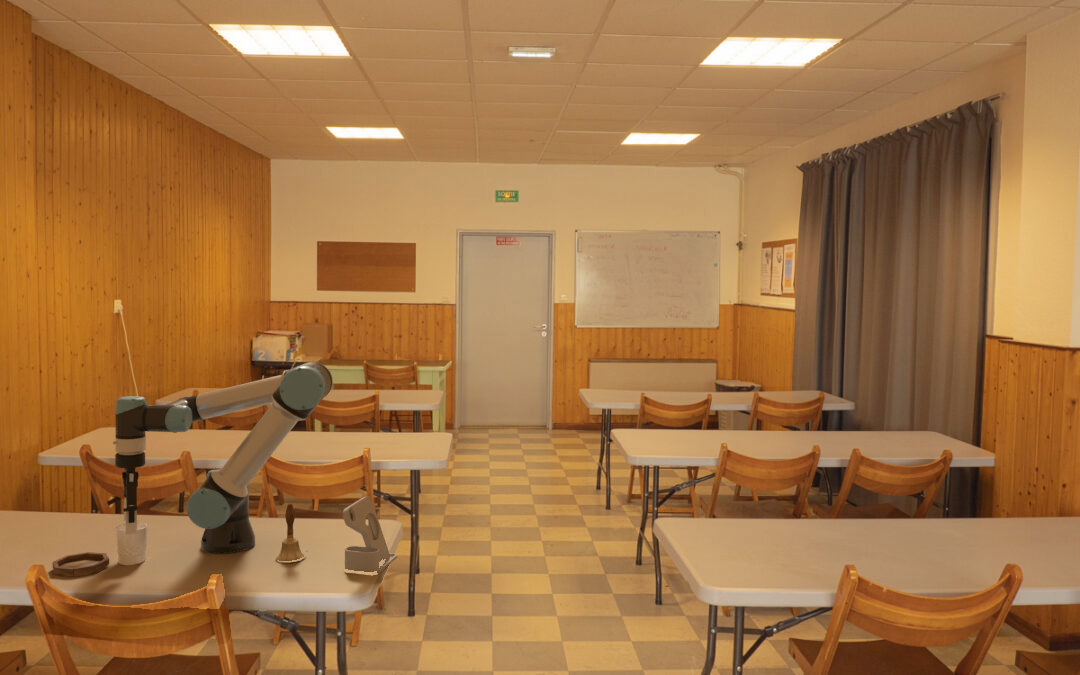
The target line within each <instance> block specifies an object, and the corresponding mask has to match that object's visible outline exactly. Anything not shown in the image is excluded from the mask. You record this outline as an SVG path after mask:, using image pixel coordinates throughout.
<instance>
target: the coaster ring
mask: <svg viewBox="0 0 1080 675" xmlns="http://www.w3.org/2000/svg"><path fill="white" fill-rule="evenodd" d="M109 565H110V557H109V556H108V554H107V553H103V552H94V551H93V552H91V551H87V552H81V553H75V554H68V555H67V554H66V555H65V556H62V557H61V558H58V559H56V560H54V561H52V570H53V574H54V575H56V576H59V577H81V576H87V575H92V574H95V573H98V572H101V571H103V570H105V569H106V568H107V567H108V566H109Z"/></svg>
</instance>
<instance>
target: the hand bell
mask: <svg viewBox="0 0 1080 675" xmlns="http://www.w3.org/2000/svg"><path fill="white" fill-rule="evenodd" d="M284 515H285V522H286V526H287V528H286V529H287V531H286V538H284V539H283V540H282V542H281V549H280V552H279V553H278V555H277V556H276V557H275V559H276V560H279V561H292V560H297V559H300V558H302V557H304V555H305V554H304V553H303V551H302V549H301V547H300V544H299V540H298V539H297V538H295V537H294V523H295V517H296V513H295V509H294V505H293V504H292V503H287V507H286V510H285V514H284ZM276 560H275V561H276Z"/></svg>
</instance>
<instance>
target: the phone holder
mask: <svg viewBox="0 0 1080 675" xmlns="http://www.w3.org/2000/svg"><path fill="white" fill-rule="evenodd" d="M342 510H343V511H342V518H343V521H344V524H345V525H346V527H349V528H350V529H352V530H353V531H355V532H357V533H359V534H360V535H361V536H362V539H363V542H364V545H365V546H354V545H351V546H347V547H346V548H344V569H348V570H354V571H364V572H374V571H377V573H379V574H380V573H381V572H382V571H384V570H385V569H386V568H387V567H388V566H390V564H392V563H393V562H394V561H395V560H396V559H397V558H398V554H397V553H393V552H389V549H388V548H389V547H388V544H387V541H386V539H385V537H384V536H385V535H384V533H383V530H382V527H381V524H380V522H379V518H378V515H377V511H376V509H375V506H374V503H373V501H372V498H371V497H370V496H369V495H367V496H364V497H361V498H360V499H358V500H356V501H355V502H352V504H350V505H349V506H347V507H346V508H344V509H342ZM366 520H367V521H366ZM366 522H368V523H366ZM382 559H383V560H384V559H386V560H385V563H384V564H383V566H380V568H379V562H380V561H381V560H382Z"/></svg>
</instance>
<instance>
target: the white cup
mask: <svg viewBox="0 0 1080 675" xmlns="http://www.w3.org/2000/svg"><path fill="white" fill-rule="evenodd" d="M115 535H116V537H115V539H116V547H117V550H116V551H117V555H118V558H117V559H118V564H119V565H121V566H122V565H123V566H134V565H135V566H136V565H138V564H142V563H143V562H145V561H146V554H147V553H146V552H147V542H148V541H147V540H148V524H147V523H145V522H137V533H136V534H127V535H126V523H124V524H120V525H118V526H117V527H116V528H115Z"/></svg>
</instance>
